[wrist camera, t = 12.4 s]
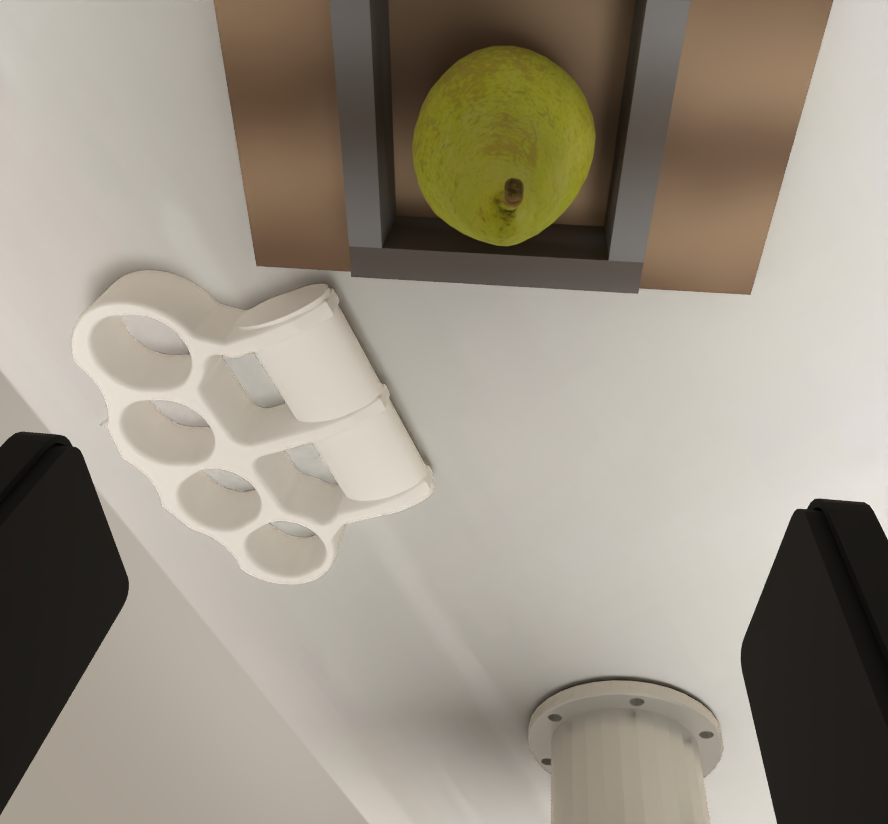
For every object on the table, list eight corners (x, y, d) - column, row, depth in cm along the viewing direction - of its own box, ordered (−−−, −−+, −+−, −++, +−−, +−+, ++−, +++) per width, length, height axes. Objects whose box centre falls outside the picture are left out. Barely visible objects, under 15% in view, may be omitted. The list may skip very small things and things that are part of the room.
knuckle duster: (461, 507, 40) (237, 557, 45) (300, 204, 31) (37, 306, 35) (455, 554, 37) (217, 602, 42) (276, 237, 28) (-5, 343, 33)
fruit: (449, 211, 29) (396, 390, 19) (409, 50, 25) (320, 167, 16) (601, 181, 27) (626, 358, 18) (578, 6, 24) (593, 106, 14)
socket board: (745, 283, 30) (767, 333, 27) (264, 255, 32) (231, 300, 29) (853, -112, 22) (903, -107, 19) (206, -117, 24) (153, -113, 21)
